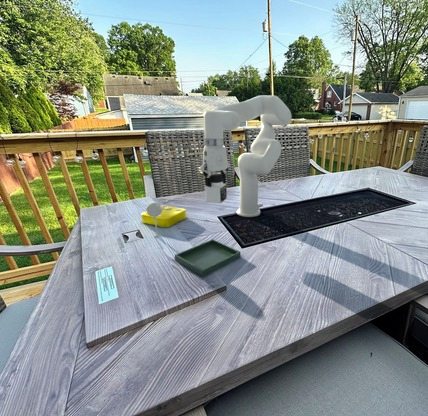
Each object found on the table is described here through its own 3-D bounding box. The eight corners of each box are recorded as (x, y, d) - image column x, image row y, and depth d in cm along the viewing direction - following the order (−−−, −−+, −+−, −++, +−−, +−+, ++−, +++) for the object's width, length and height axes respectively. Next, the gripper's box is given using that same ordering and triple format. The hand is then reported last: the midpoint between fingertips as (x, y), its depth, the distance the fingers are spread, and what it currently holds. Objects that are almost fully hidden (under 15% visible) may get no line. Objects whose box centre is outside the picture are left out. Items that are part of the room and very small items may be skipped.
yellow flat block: (140, 222, 121) (139, 212, 119) (163, 212, 134) (162, 203, 132) (166, 228, 116) (165, 218, 114) (187, 217, 129) (187, 208, 128)
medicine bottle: (220, 203, 112) (220, 176, 108) (205, 201, 113) (204, 174, 109) (226, 198, 118) (226, 172, 114) (212, 197, 120) (211, 171, 116)
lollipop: (168, 235, 110) (165, 201, 105) (158, 241, 104) (154, 205, 99) (156, 232, 112) (152, 199, 107) (145, 238, 106) (141, 203, 101)
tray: (213, 243, 105) (213, 238, 104) (240, 256, 96) (240, 251, 95) (175, 260, 92) (174, 254, 91) (202, 277, 83) (202, 271, 82)
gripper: (203, 145, 99) (205, 190, 105) (235, 142, 112) (236, 182, 118) (190, 143, 103) (193, 186, 109) (223, 140, 116) (224, 179, 122)
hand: (215, 184), depth 113 cm, fingers closed on medicine bottle, 7 cm apart
